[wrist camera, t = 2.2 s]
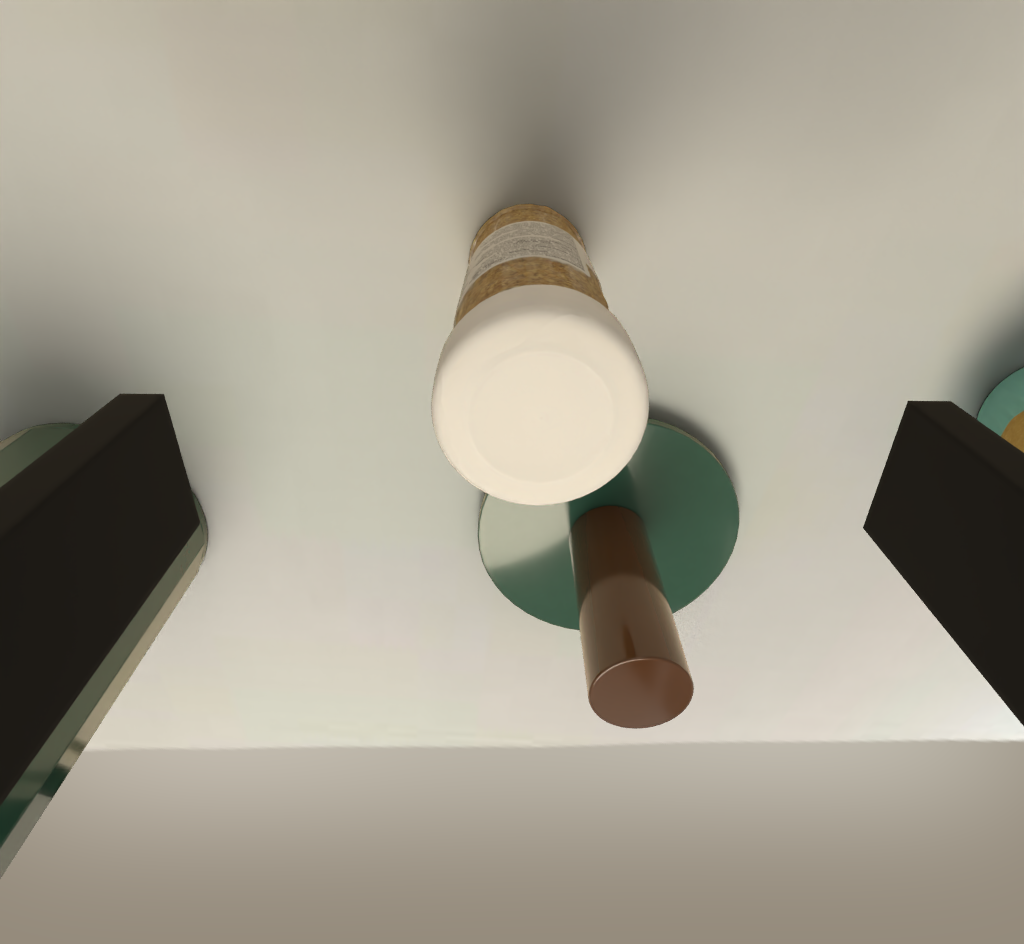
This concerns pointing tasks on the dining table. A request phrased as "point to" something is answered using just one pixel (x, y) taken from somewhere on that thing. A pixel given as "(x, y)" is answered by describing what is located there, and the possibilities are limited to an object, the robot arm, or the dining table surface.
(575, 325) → the sprinkles bottle
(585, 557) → the canister lid
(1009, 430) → the cupcake
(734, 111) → the dining table surface
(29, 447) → the canister
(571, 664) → the dining table surface
